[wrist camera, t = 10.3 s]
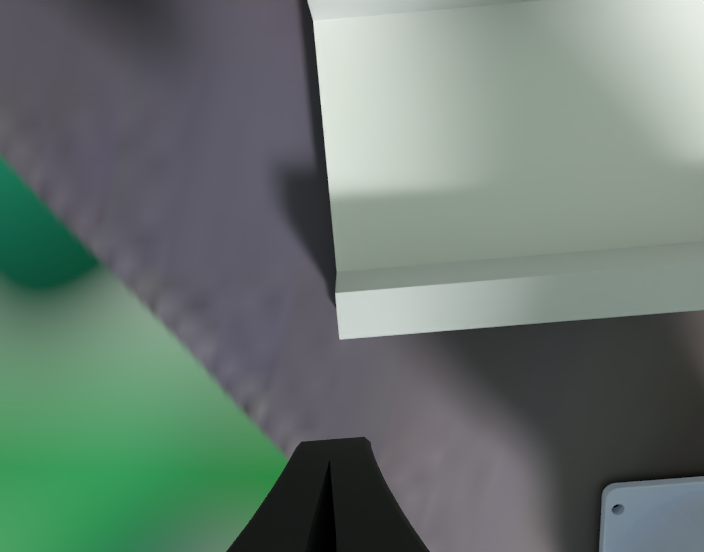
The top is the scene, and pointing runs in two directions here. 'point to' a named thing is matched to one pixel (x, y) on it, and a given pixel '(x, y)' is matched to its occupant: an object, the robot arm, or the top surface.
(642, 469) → the top surface
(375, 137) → the chute
